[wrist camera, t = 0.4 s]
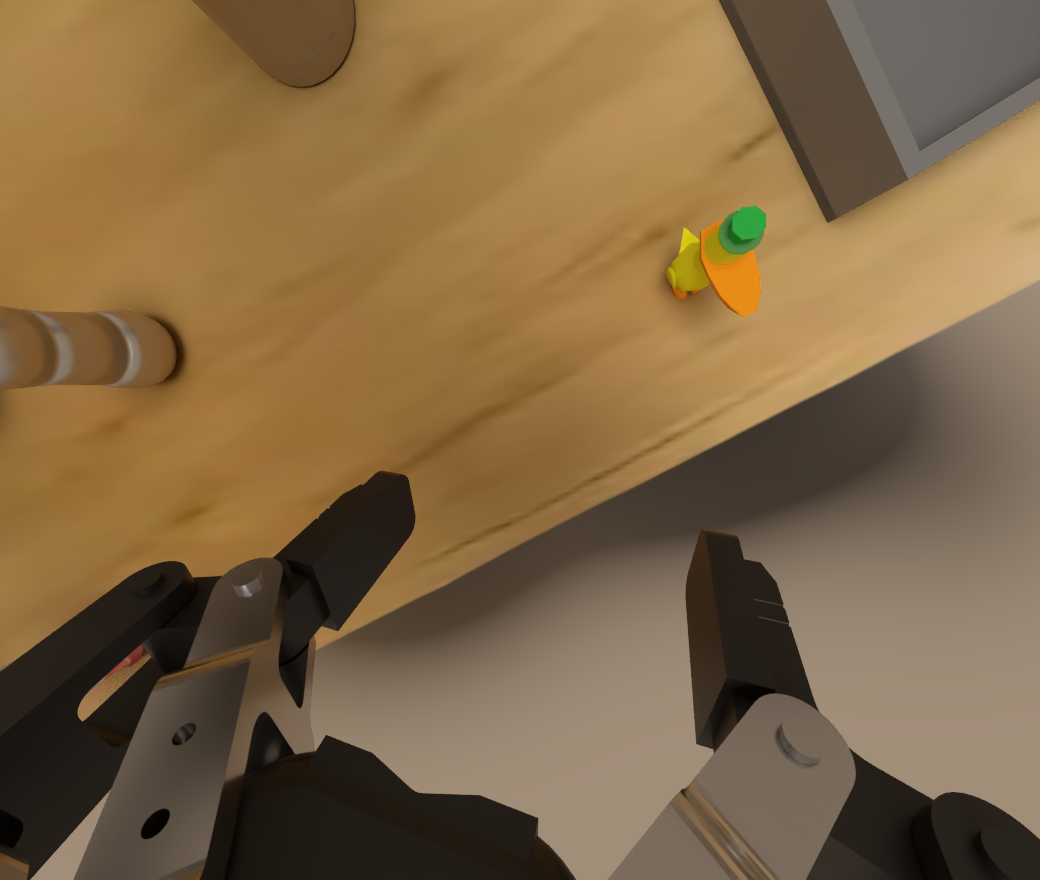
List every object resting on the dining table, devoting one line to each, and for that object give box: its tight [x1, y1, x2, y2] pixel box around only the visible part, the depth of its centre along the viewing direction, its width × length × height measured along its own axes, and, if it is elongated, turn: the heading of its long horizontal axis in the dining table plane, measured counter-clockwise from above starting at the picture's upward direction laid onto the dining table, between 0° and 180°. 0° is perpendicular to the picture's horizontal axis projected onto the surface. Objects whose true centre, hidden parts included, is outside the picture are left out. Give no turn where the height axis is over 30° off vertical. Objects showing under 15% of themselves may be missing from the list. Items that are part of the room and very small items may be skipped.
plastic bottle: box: [0, 306, 177, 390], centre depth 28 cm, size 6×7×20 cm
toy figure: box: [666, 206, 766, 317], centre depth 25 cm, size 7×4×12 cm, turn 27°
